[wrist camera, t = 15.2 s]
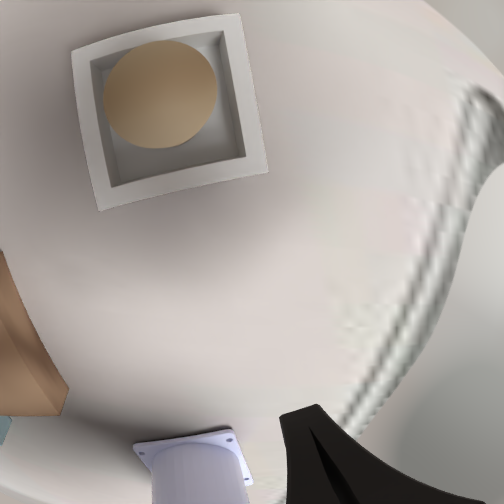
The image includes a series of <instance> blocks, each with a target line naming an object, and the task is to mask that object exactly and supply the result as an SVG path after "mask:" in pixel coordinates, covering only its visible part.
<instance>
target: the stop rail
mask: <svg viewBox="0 0 504 504" xmlns="http://www.w3.org/2000/svg"><path fill="white" fill-rule="evenodd" d="M11 422H12V420H11V419H10V418H9V416H0V446H2V444H3V442H4V439H5V437H6V434H7V432H8V429H9V427H10V424H11Z"/></svg>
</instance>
